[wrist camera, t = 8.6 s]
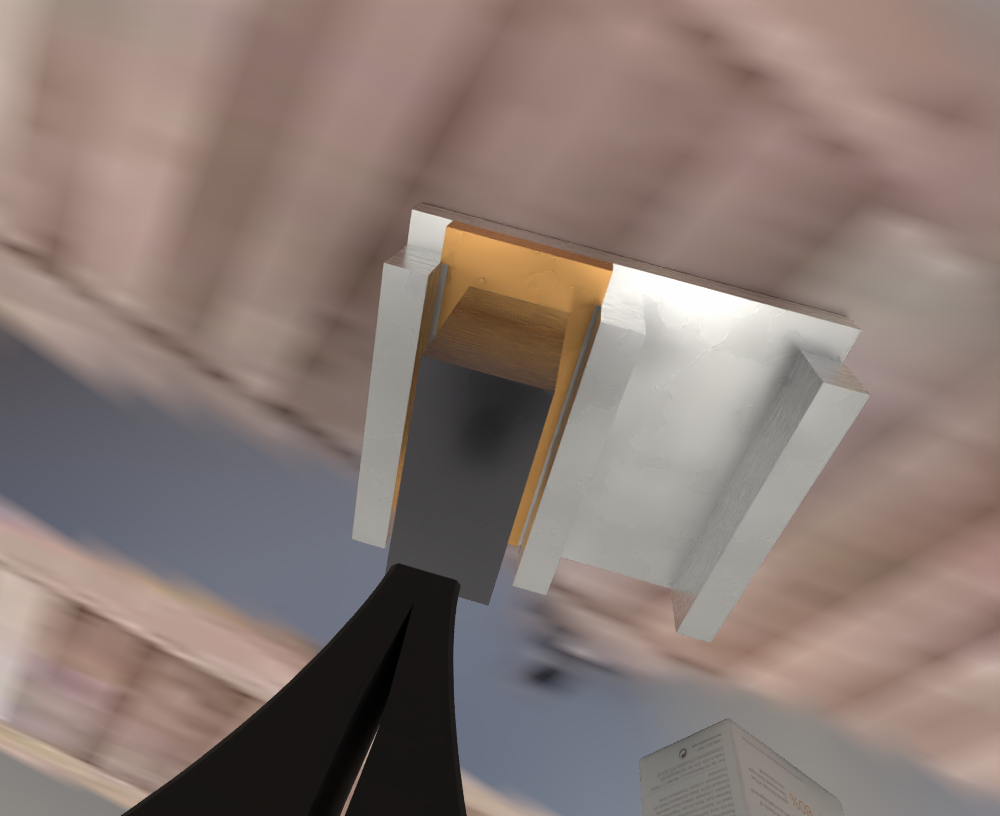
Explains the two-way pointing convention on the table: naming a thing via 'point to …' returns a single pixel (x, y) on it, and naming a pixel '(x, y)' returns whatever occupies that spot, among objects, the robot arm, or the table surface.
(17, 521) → the table surface
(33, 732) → the table surface
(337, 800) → the robot arm
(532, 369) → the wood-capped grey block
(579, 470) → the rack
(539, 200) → the table surface
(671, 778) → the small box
